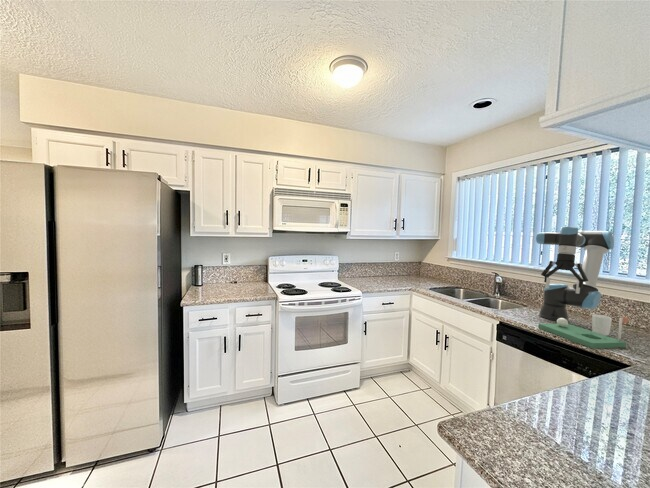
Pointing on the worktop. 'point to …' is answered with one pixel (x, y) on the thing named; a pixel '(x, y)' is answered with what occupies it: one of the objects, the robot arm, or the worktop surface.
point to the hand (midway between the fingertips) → (561, 290)
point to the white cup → (601, 324)
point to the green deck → (586, 335)
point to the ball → (562, 322)
